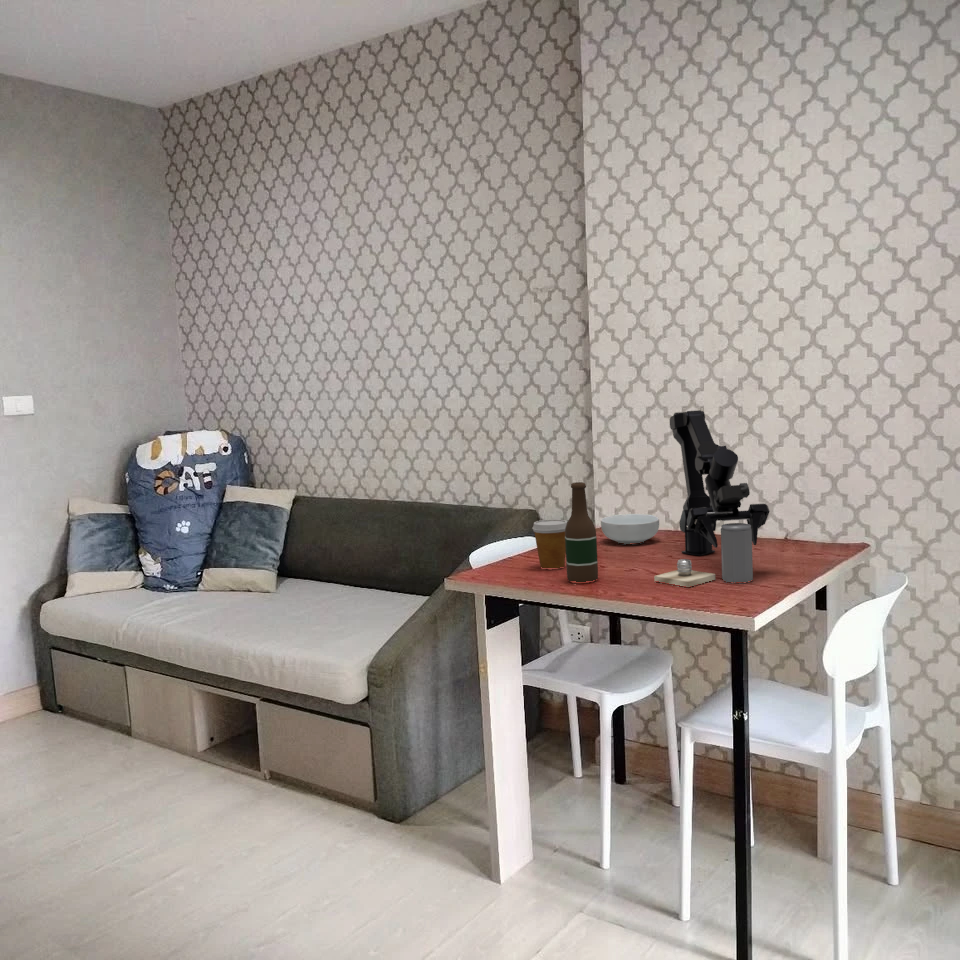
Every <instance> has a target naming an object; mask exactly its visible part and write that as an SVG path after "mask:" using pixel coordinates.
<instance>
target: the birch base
mask: <svg viewBox="0 0 960 960" xmlns="http://www.w3.org/2000/svg"><path fill="white" fill-rule="evenodd" d="M653 577H654V578H653V579H654V582H655V581H659V582H665V583H669V584H675V585H680V586H686V587H690V586H694V585H697V584H701V585H703V584H702V583H704V584H706V583H705V582H708V583H710V582H709V581H711V582H713V581H712V580H715V581H716V574H715V573H711V572H705V571H700V570H699V571H697V570H694V569H692V572H691V576H679V575H678V572H677V569H675V570H671V571H669V572H664V573H660V574H657V575H654V576H653ZM694 587H695V586H694Z"/></svg>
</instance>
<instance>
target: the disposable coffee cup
mask: <svg viewBox="0 0 960 960" xmlns="http://www.w3.org/2000/svg"><path fill="white" fill-rule="evenodd" d="M567 522H568V520H566V519H565V520H564V519H542V520H537V521H534V522H533V526H532V530H533V533H534V539H535V542H536V543H535V544H536V549H537V554H538V561H539V566H540V567H542V568H560V567H564V566H565V565H566V547H565V528H566V524H567ZM564 568H565V567H564Z"/></svg>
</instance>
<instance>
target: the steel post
mask: <svg viewBox="0 0 960 960" xmlns="http://www.w3.org/2000/svg"><path fill="white" fill-rule="evenodd" d="M676 568H677V569H676V570H677V572H678V575H679V576H691V572H692V570H693V569H692V568H693V566H692V560H691V559H688V558H687V559H686V558H683V559H682V558H681V559H678V560H677V562H676Z"/></svg>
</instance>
